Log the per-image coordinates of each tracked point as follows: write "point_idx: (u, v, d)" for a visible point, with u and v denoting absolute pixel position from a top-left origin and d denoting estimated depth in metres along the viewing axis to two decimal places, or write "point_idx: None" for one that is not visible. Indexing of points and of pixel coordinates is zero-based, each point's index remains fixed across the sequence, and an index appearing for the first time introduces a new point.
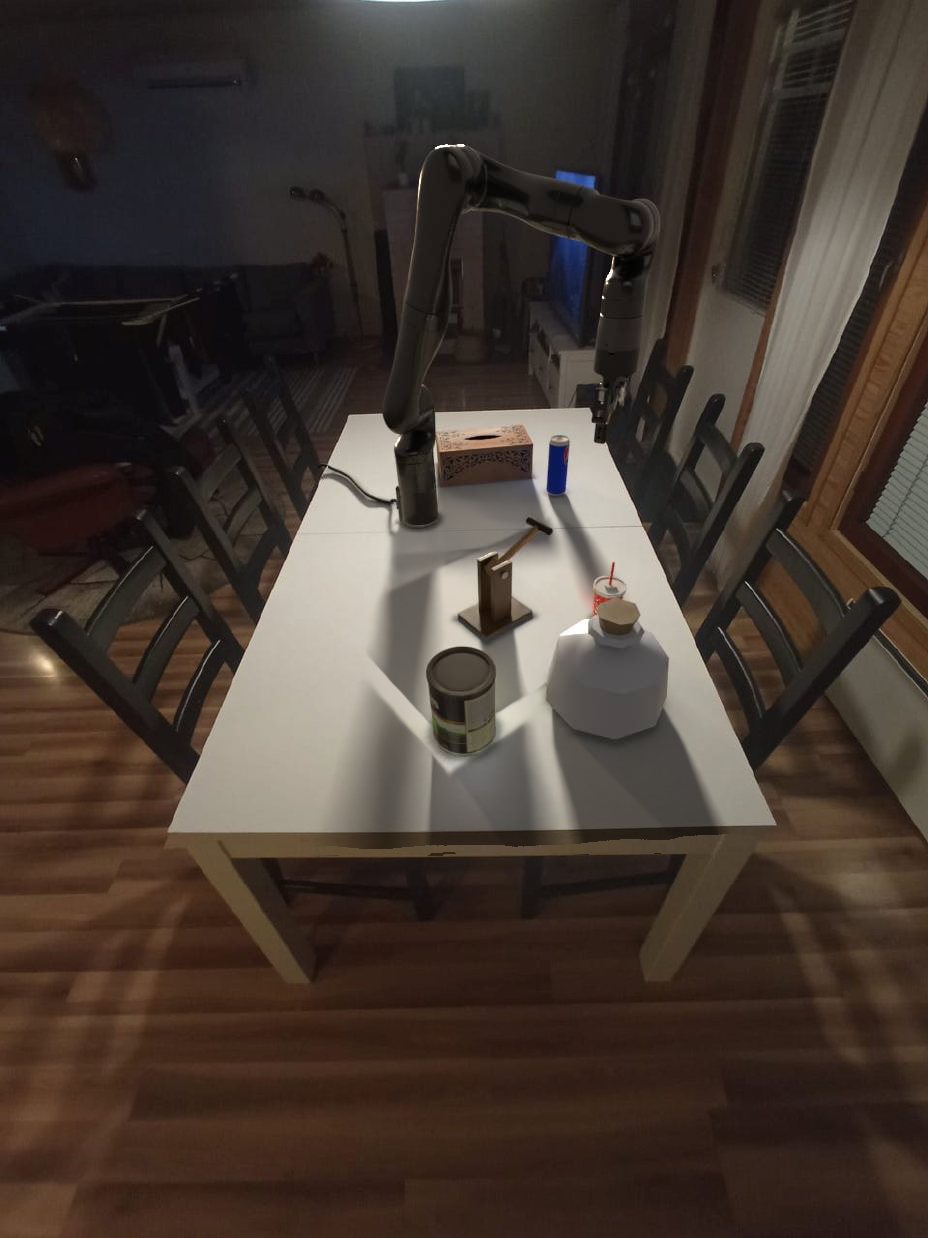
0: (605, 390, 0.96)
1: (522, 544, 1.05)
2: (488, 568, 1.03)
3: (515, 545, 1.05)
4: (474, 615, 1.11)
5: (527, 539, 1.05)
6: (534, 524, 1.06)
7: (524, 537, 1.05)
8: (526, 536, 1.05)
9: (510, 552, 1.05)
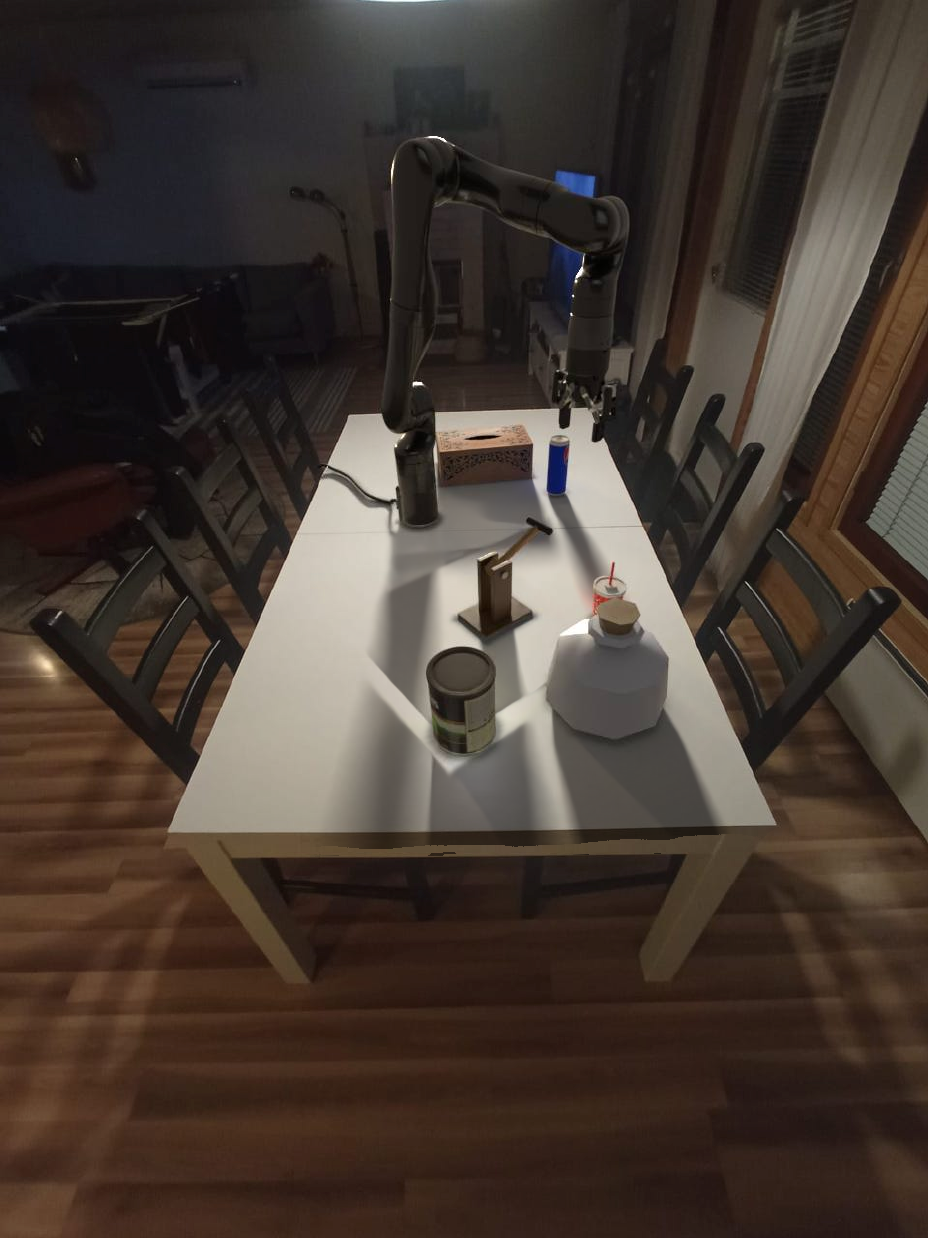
0: (615, 386, 0.96)
1: (522, 544, 1.05)
2: (488, 568, 1.03)
3: (515, 545, 1.05)
4: (474, 615, 1.11)
5: (527, 539, 1.05)
6: (534, 524, 1.06)
7: (524, 537, 1.05)
8: (526, 536, 1.05)
9: (510, 552, 1.05)
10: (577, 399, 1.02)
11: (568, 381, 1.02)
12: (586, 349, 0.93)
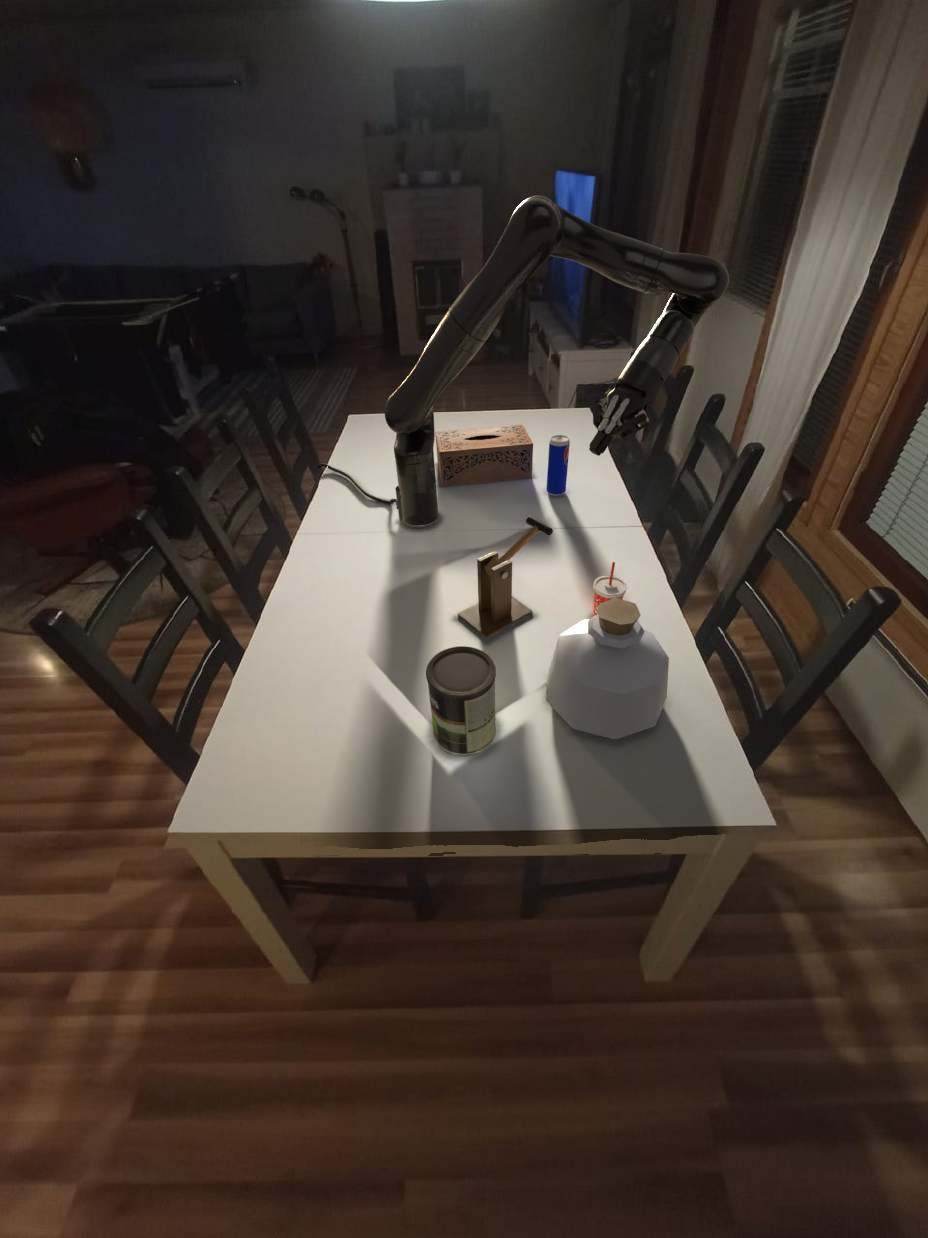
0: (648, 421, 1.01)
1: (522, 544, 1.05)
2: (488, 568, 1.03)
3: (515, 545, 1.05)
4: (474, 615, 1.11)
5: (527, 539, 1.05)
6: (534, 524, 1.06)
7: (524, 537, 1.05)
8: (526, 536, 1.05)
9: (510, 552, 1.05)
10: (613, 412, 1.04)
11: (610, 396, 1.05)
12: (651, 364, 0.99)
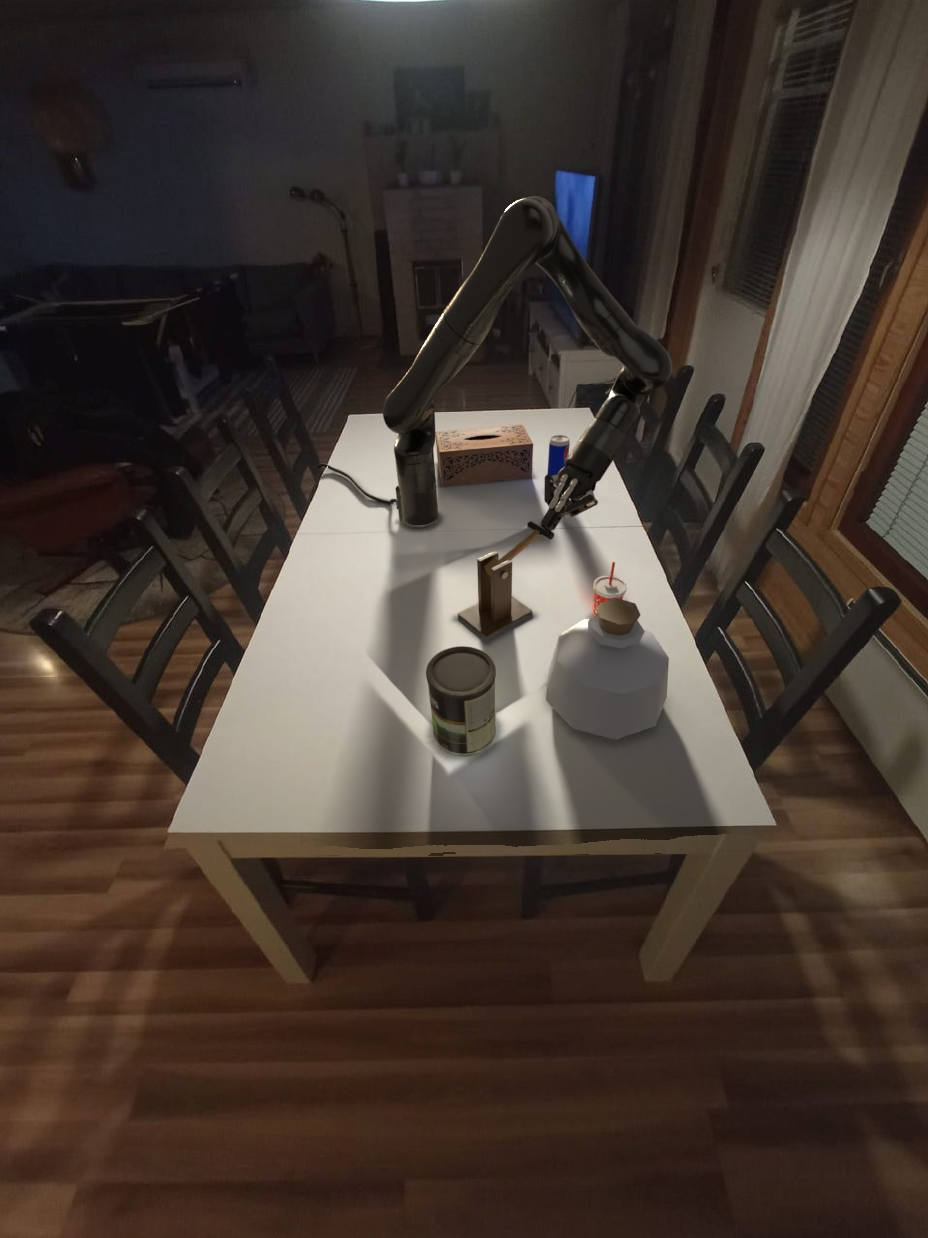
0: (596, 501, 1.03)
1: (523, 546, 1.06)
2: (488, 567, 1.03)
3: (516, 547, 1.05)
4: (474, 615, 1.11)
5: (528, 542, 1.06)
6: (536, 528, 1.07)
7: (525, 540, 1.06)
8: (527, 539, 1.06)
9: (511, 553, 1.05)
10: (563, 490, 1.06)
11: (560, 474, 1.07)
12: (597, 447, 1.02)
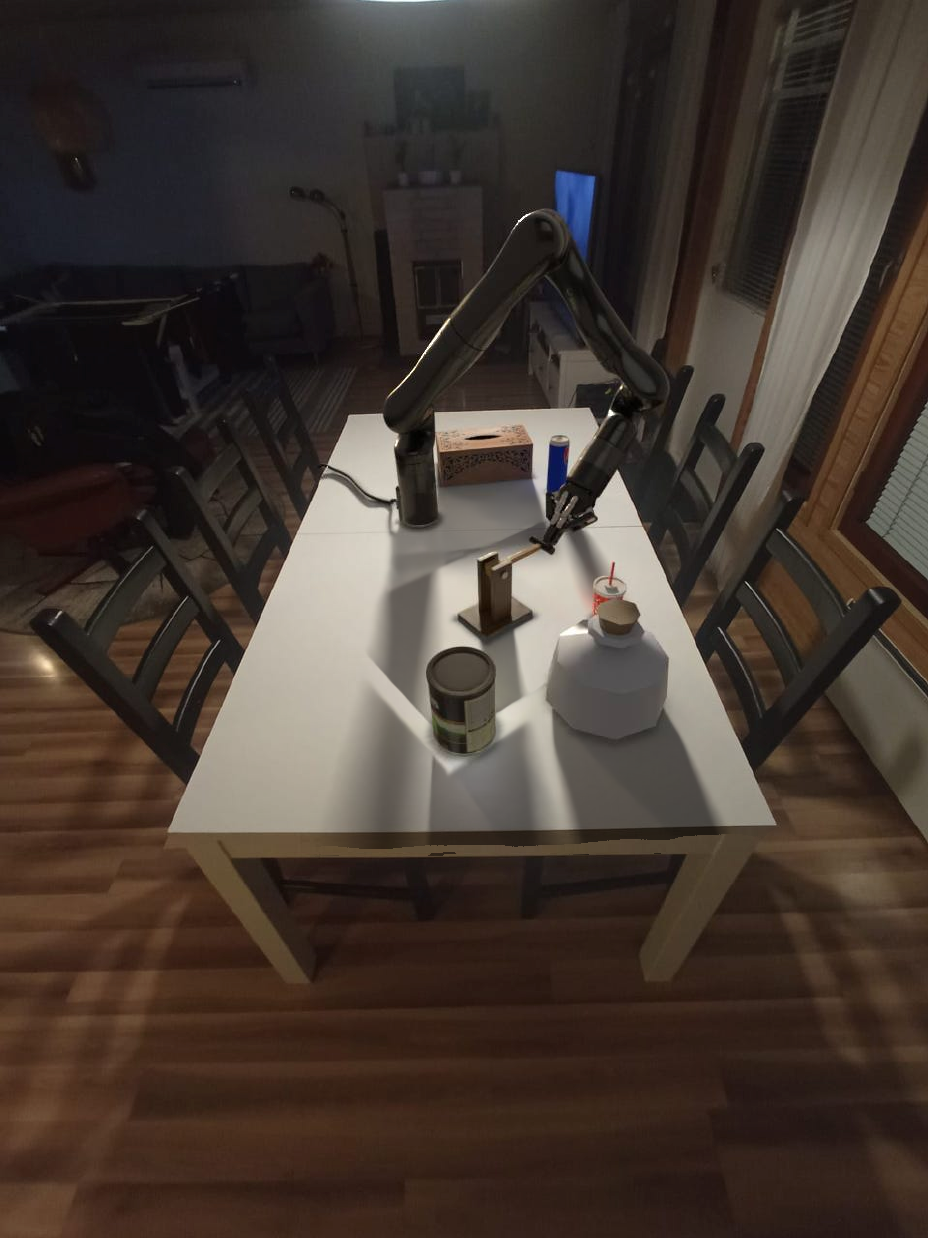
0: (596, 518, 1.06)
1: (524, 555, 1.07)
2: (490, 565, 1.03)
3: (518, 554, 1.07)
4: (474, 615, 1.11)
5: (529, 552, 1.08)
6: (538, 542, 1.09)
7: (527, 550, 1.08)
8: (529, 549, 1.08)
9: (512, 558, 1.06)
10: (563, 507, 1.09)
11: (561, 491, 1.10)
12: (597, 465, 1.04)
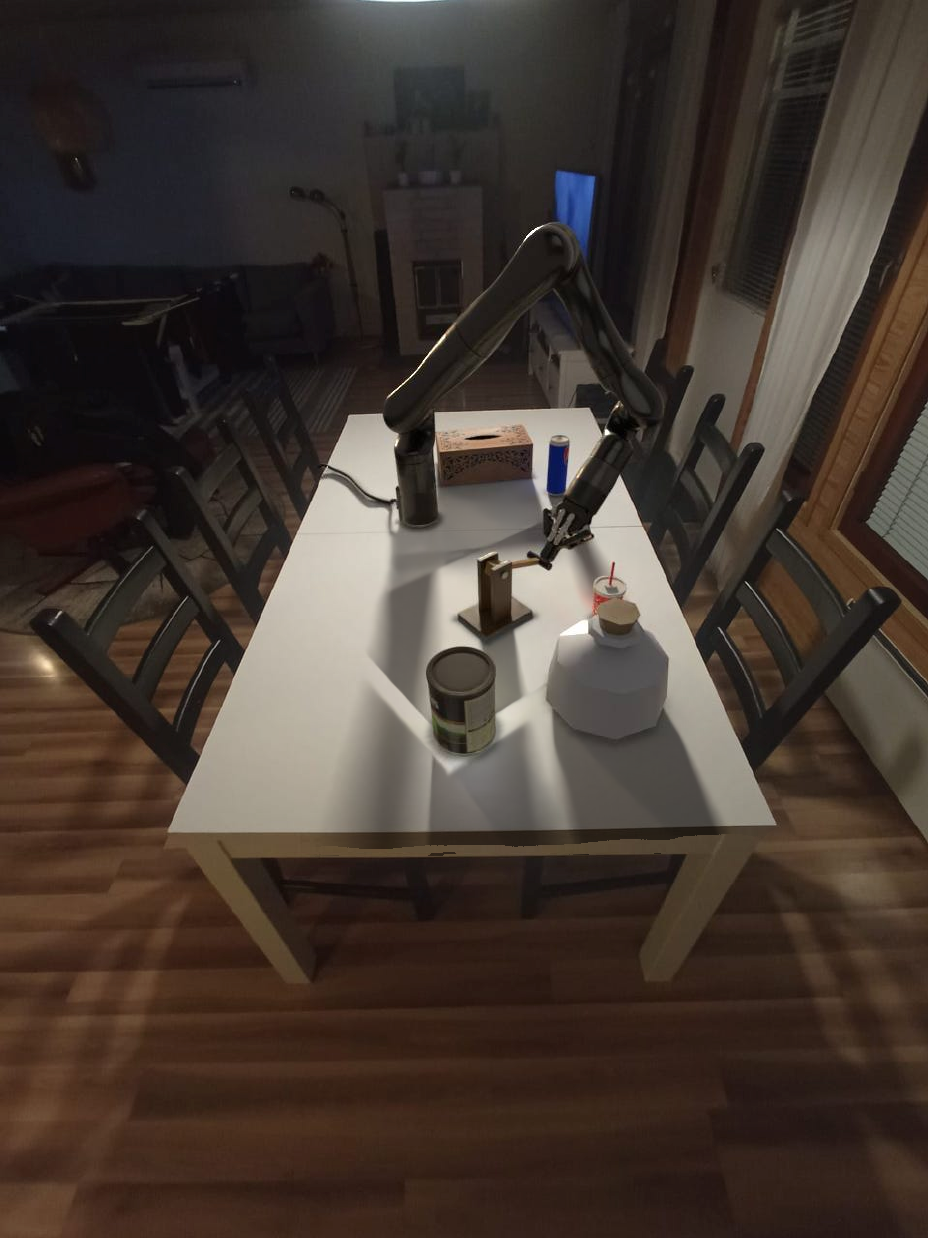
0: (592, 535, 1.08)
1: (523, 564, 1.08)
2: (491, 563, 1.03)
3: (517, 561, 1.08)
4: (474, 615, 1.11)
5: (528, 563, 1.09)
6: (536, 557, 1.11)
7: (526, 560, 1.09)
8: (528, 560, 1.09)
9: (512, 563, 1.07)
10: (560, 524, 1.11)
11: (558, 508, 1.12)
12: (593, 484, 1.06)
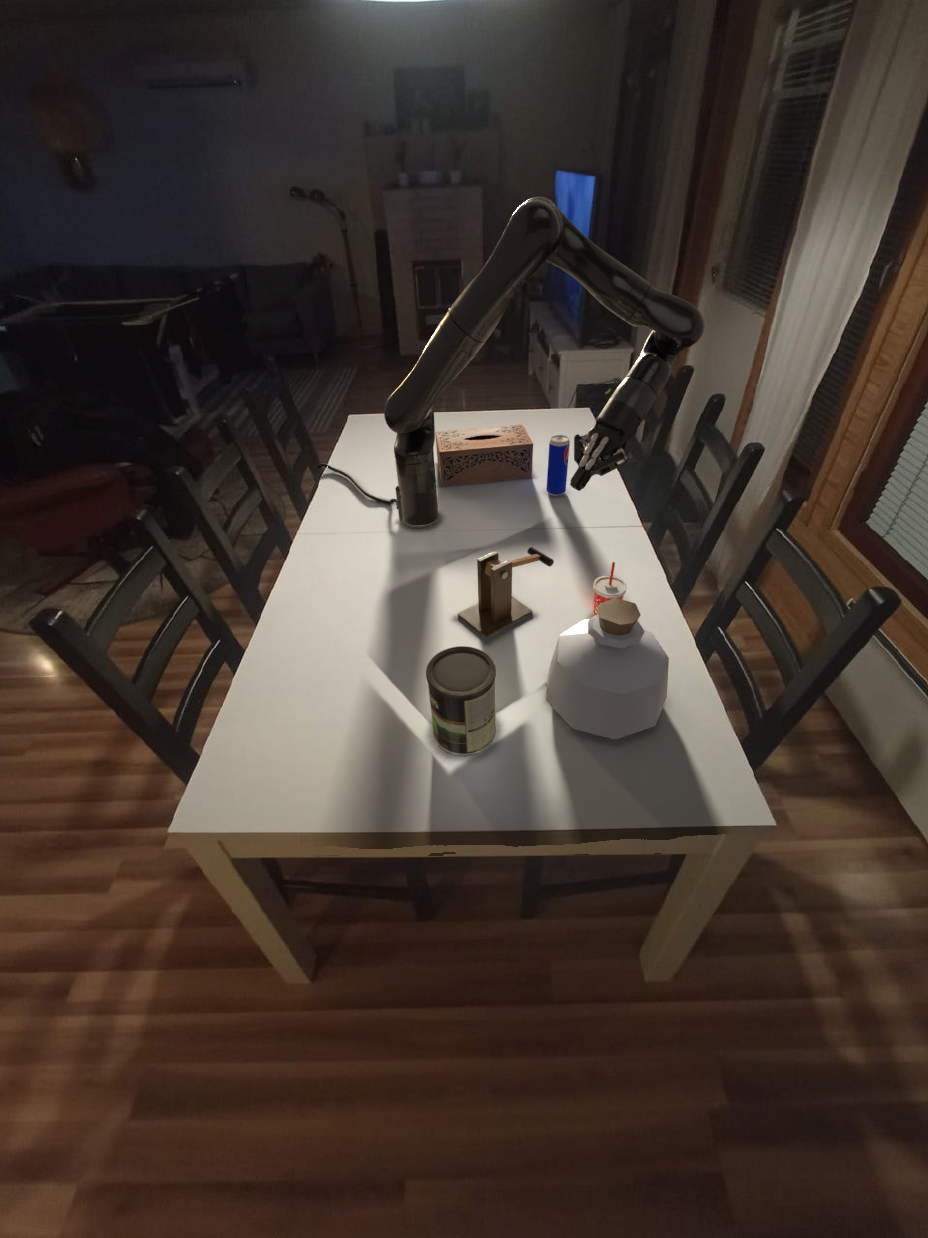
0: (626, 459, 1.04)
1: (523, 562, 1.08)
2: (491, 563, 1.03)
3: (517, 559, 1.08)
4: (474, 615, 1.11)
5: (529, 560, 1.09)
6: (537, 553, 1.11)
7: (527, 558, 1.09)
8: (528, 557, 1.09)
9: (512, 562, 1.06)
10: (593, 449, 1.07)
11: (590, 433, 1.08)
12: (629, 404, 1.03)
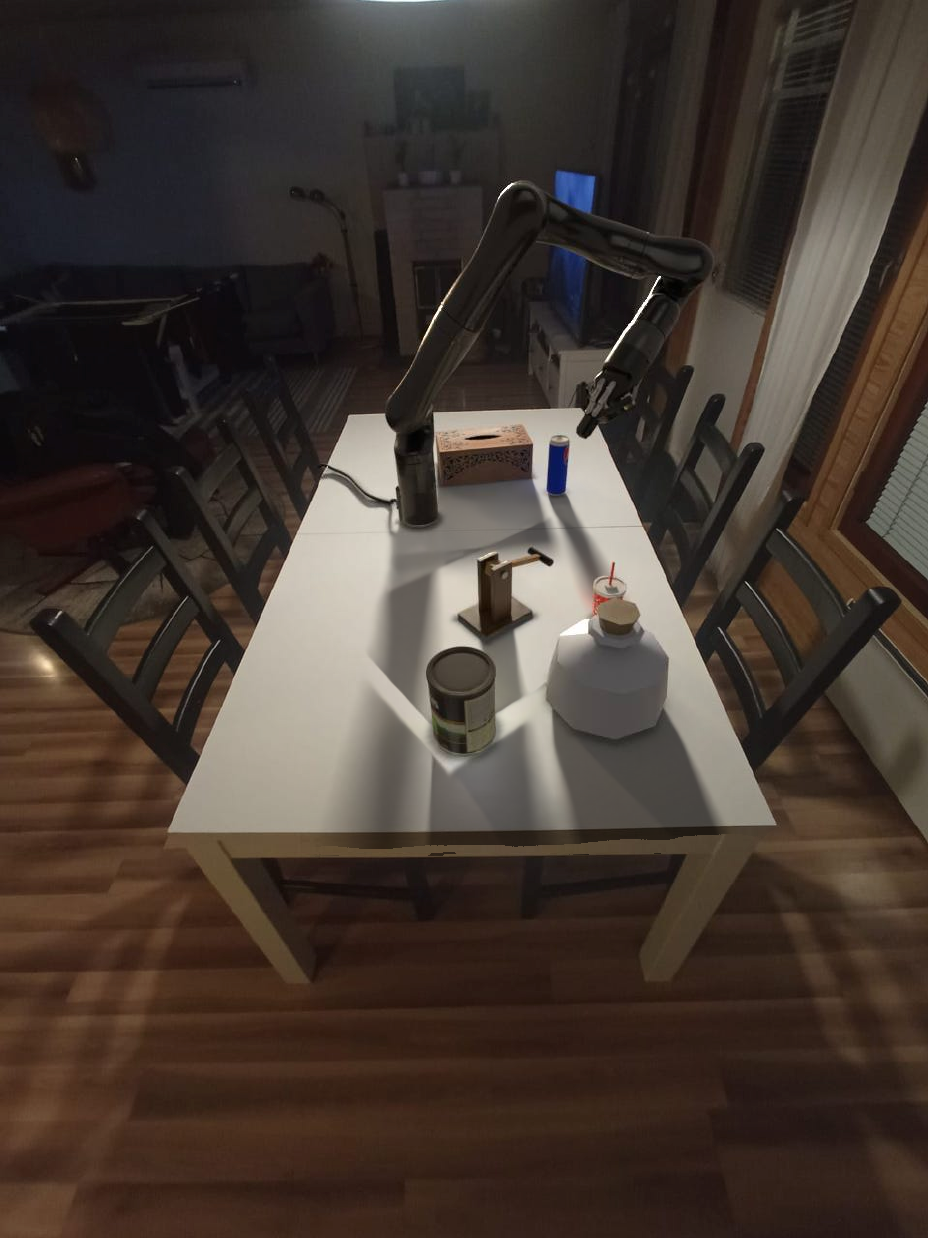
0: (634, 404, 1.01)
1: (523, 562, 1.08)
2: (491, 563, 1.03)
3: (517, 559, 1.08)
4: (474, 615, 1.11)
5: (529, 560, 1.09)
6: (537, 553, 1.11)
7: (527, 558, 1.09)
8: (528, 557, 1.09)
9: (512, 562, 1.06)
10: (599, 395, 1.04)
11: (597, 380, 1.05)
12: (637, 346, 0.99)
